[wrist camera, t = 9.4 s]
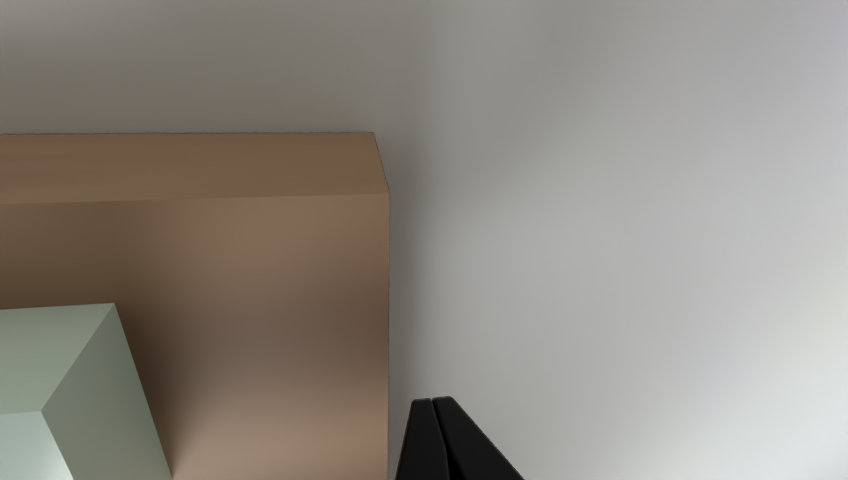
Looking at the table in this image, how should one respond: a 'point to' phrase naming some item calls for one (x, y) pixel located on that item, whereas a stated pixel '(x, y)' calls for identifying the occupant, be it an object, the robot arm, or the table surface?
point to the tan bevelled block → (221, 286)
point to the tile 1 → (73, 398)
